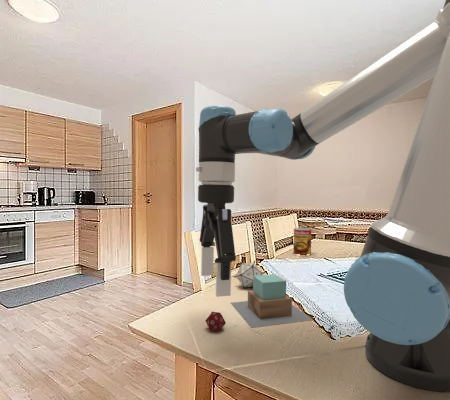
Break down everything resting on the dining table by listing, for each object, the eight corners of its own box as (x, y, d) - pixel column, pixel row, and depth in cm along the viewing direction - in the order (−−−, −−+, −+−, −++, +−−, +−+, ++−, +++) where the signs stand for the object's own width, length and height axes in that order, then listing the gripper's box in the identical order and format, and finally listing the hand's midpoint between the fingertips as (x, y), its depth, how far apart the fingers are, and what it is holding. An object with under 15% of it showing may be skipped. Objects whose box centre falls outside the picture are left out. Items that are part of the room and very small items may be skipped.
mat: (312, 321, 70) (312, 319, 70) (251, 329, 66) (251, 327, 65) (282, 298, 84) (282, 297, 84) (230, 304, 80) (230, 302, 80)
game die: (253, 301, 92) (262, 281, 86) (227, 289, 94) (235, 268, 88) (261, 280, 99) (270, 259, 93) (237, 269, 101) (244, 248, 95)
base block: (291, 315, 72) (291, 298, 72) (260, 319, 70) (260, 301, 70) (276, 303, 80) (276, 288, 80) (247, 306, 78) (247, 290, 77)
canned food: (291, 255, 141) (291, 229, 141) (296, 252, 148) (296, 227, 147) (308, 257, 137) (308, 230, 137) (312, 253, 144) (313, 228, 144)
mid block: (286, 297, 73) (286, 280, 72) (262, 299, 71) (262, 282, 71) (275, 289, 78) (275, 274, 78) (253, 291, 77) (253, 275, 77)
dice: (207, 326, 67) (207, 308, 67) (227, 327, 66) (227, 309, 66) (203, 334, 63) (203, 315, 63) (224, 336, 63) (224, 316, 62)
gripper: (188, 183, 75) (187, 269, 76) (213, 183, 51) (210, 308, 52) (218, 184, 77) (216, 267, 78) (255, 184, 53) (252, 305, 54)
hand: (214, 284), depth 65 cm, fingers open, 13 cm apart
